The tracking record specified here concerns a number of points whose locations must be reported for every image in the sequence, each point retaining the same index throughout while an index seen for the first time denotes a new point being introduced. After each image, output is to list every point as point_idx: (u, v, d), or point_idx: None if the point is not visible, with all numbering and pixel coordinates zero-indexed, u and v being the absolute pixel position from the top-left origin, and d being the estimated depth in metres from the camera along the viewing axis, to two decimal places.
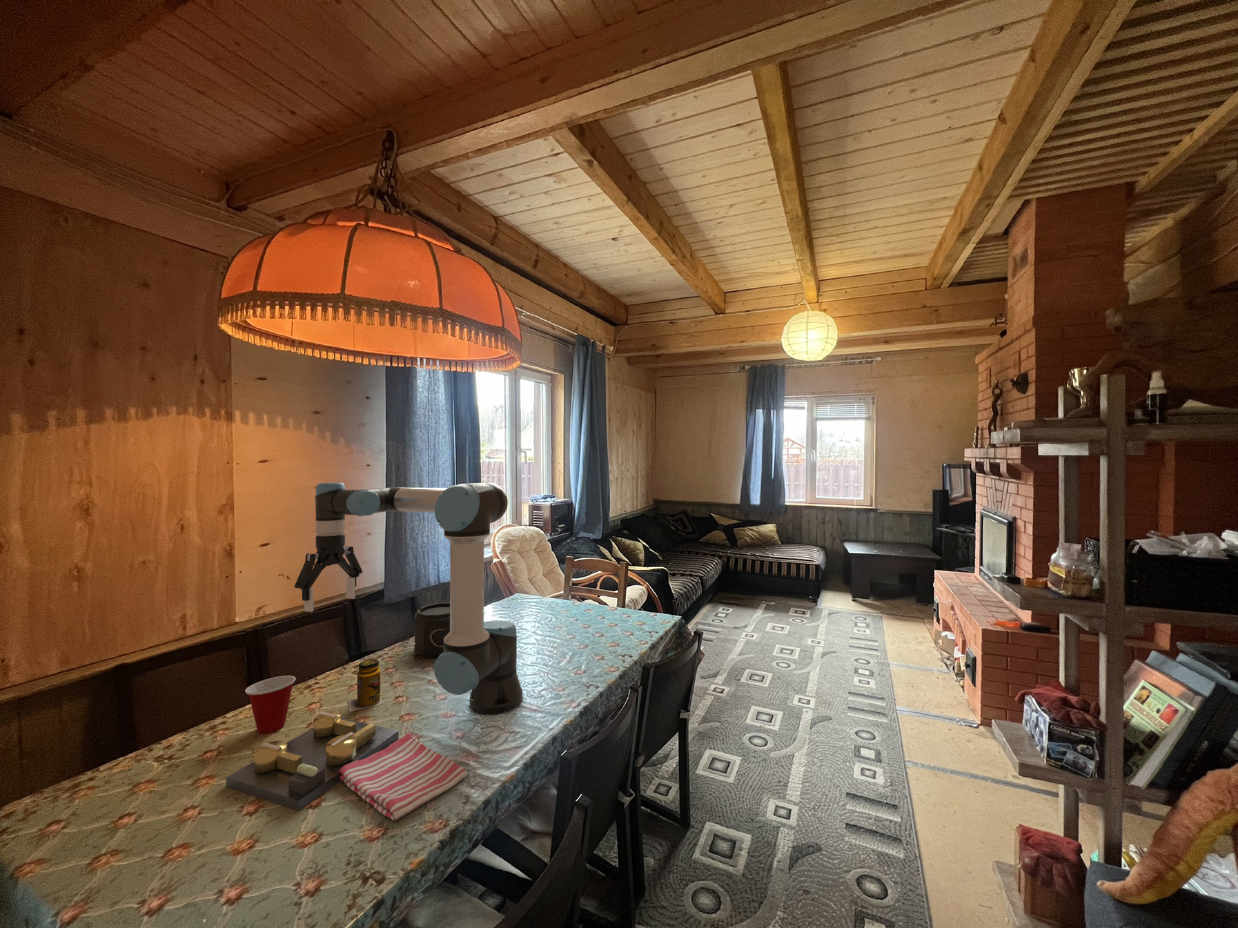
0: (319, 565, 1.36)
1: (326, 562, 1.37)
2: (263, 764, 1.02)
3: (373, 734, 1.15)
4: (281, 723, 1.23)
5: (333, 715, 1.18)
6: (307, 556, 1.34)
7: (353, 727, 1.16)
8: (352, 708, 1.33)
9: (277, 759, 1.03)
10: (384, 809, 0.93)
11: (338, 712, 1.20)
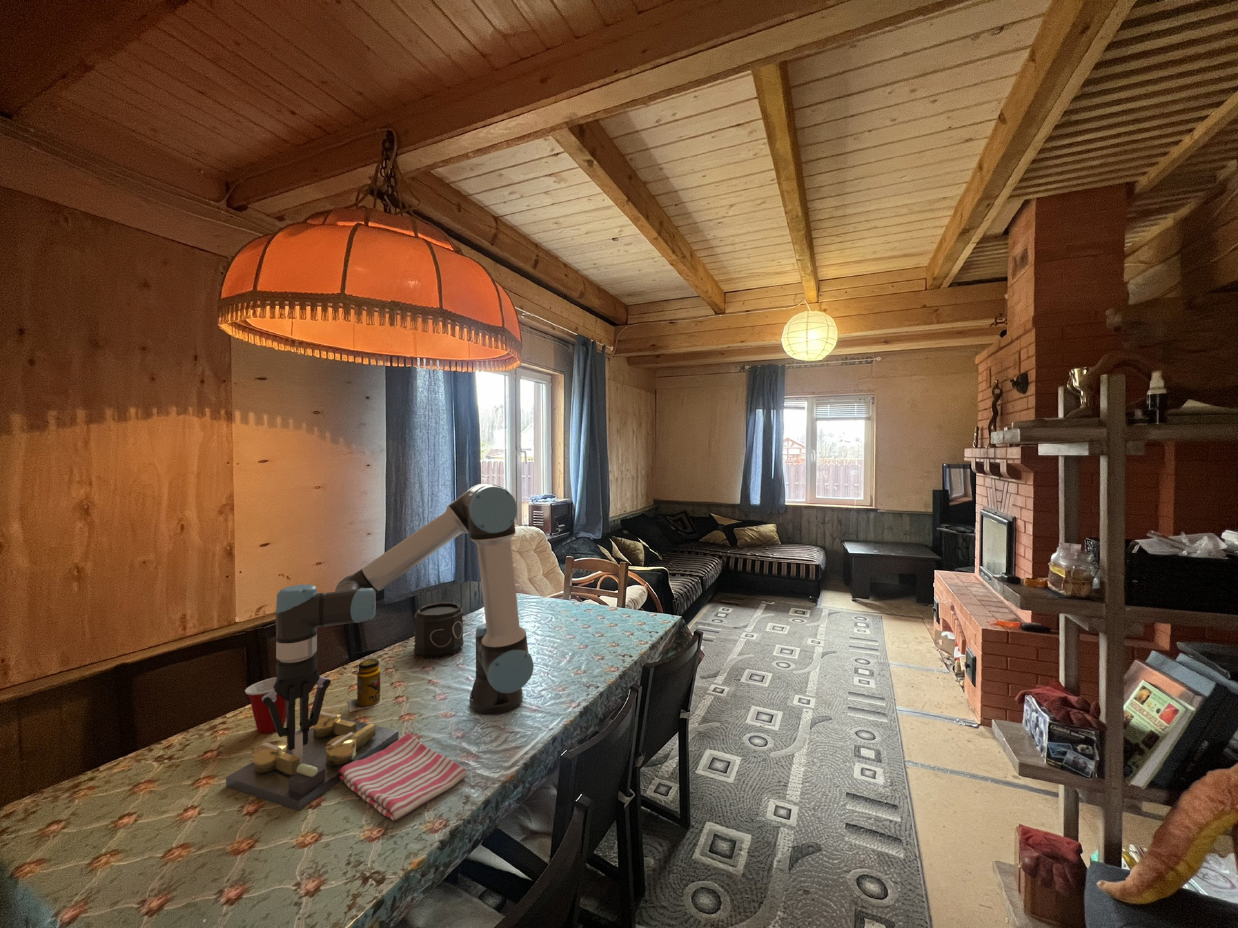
0: (287, 703, 1.03)
1: (291, 698, 1.02)
2: (262, 764, 1.02)
3: (373, 734, 1.15)
4: None
5: (333, 715, 1.18)
6: (263, 701, 1.00)
7: (353, 727, 1.16)
8: (352, 708, 1.33)
9: (276, 760, 1.03)
10: (384, 809, 0.93)
11: (338, 712, 1.20)
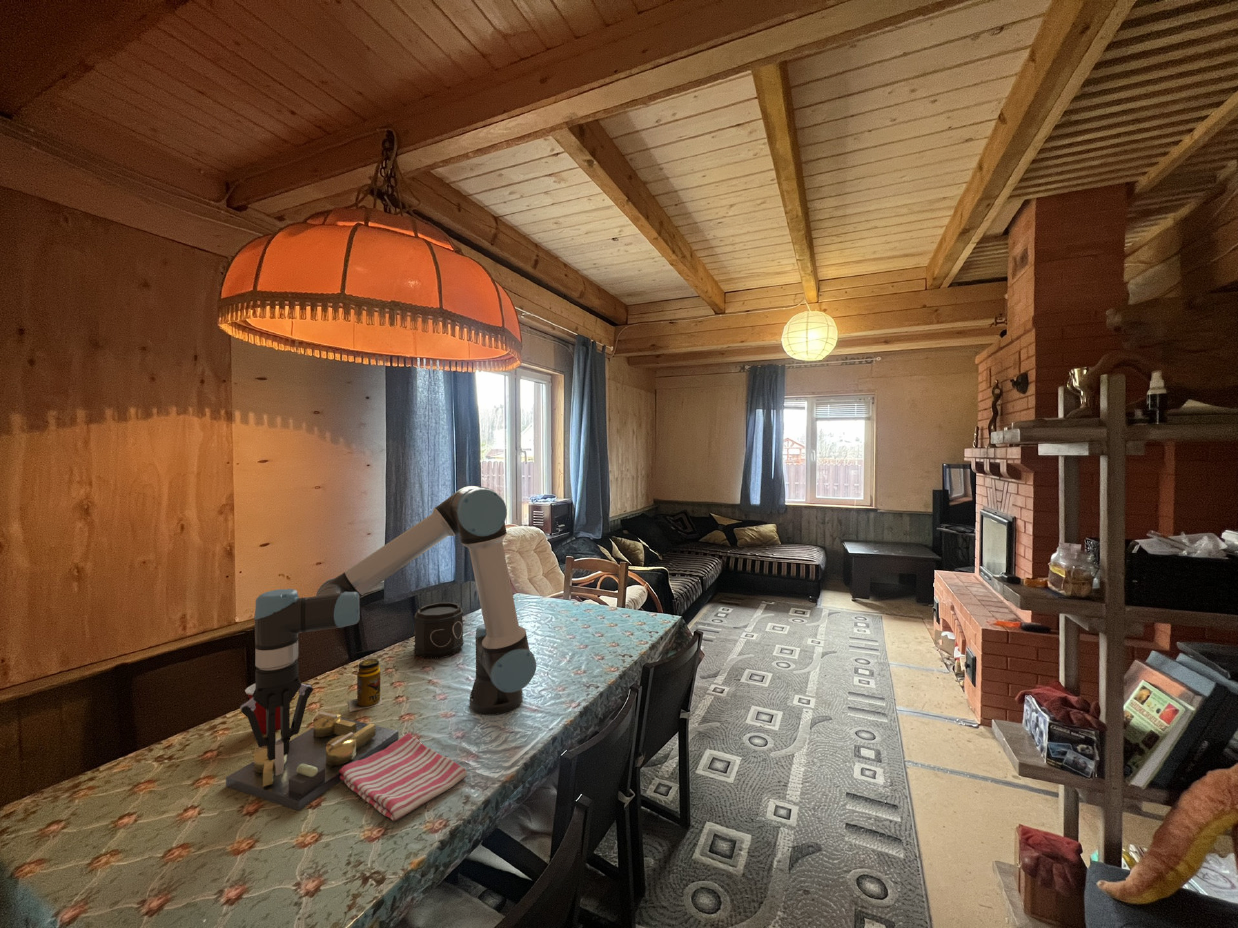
0: (267, 712, 0.99)
1: (271, 707, 0.99)
2: (255, 763, 1.03)
3: (373, 734, 1.15)
4: None
5: (333, 715, 1.18)
6: None
7: (353, 727, 1.16)
8: (352, 707, 1.33)
9: None
10: (384, 809, 0.93)
11: (338, 712, 1.20)
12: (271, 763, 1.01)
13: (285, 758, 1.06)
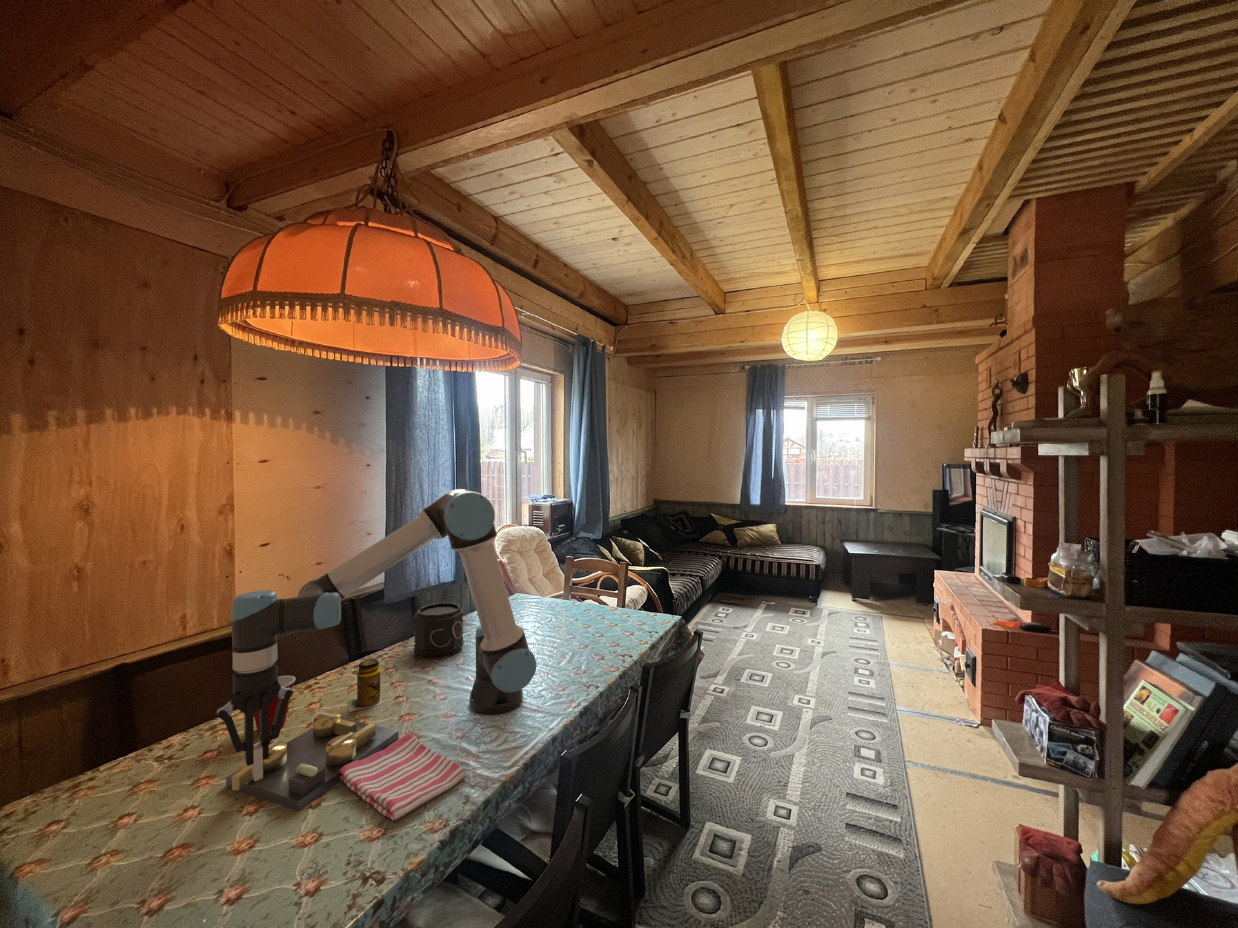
0: (245, 716, 0.97)
1: (249, 711, 0.97)
2: None
3: (373, 734, 1.15)
4: None
5: (333, 715, 1.18)
6: (218, 714, 0.95)
7: (353, 727, 1.16)
8: (352, 708, 1.33)
9: None
10: (384, 809, 0.93)
11: (338, 712, 1.20)
12: (250, 767, 0.99)
13: (278, 763, 1.04)
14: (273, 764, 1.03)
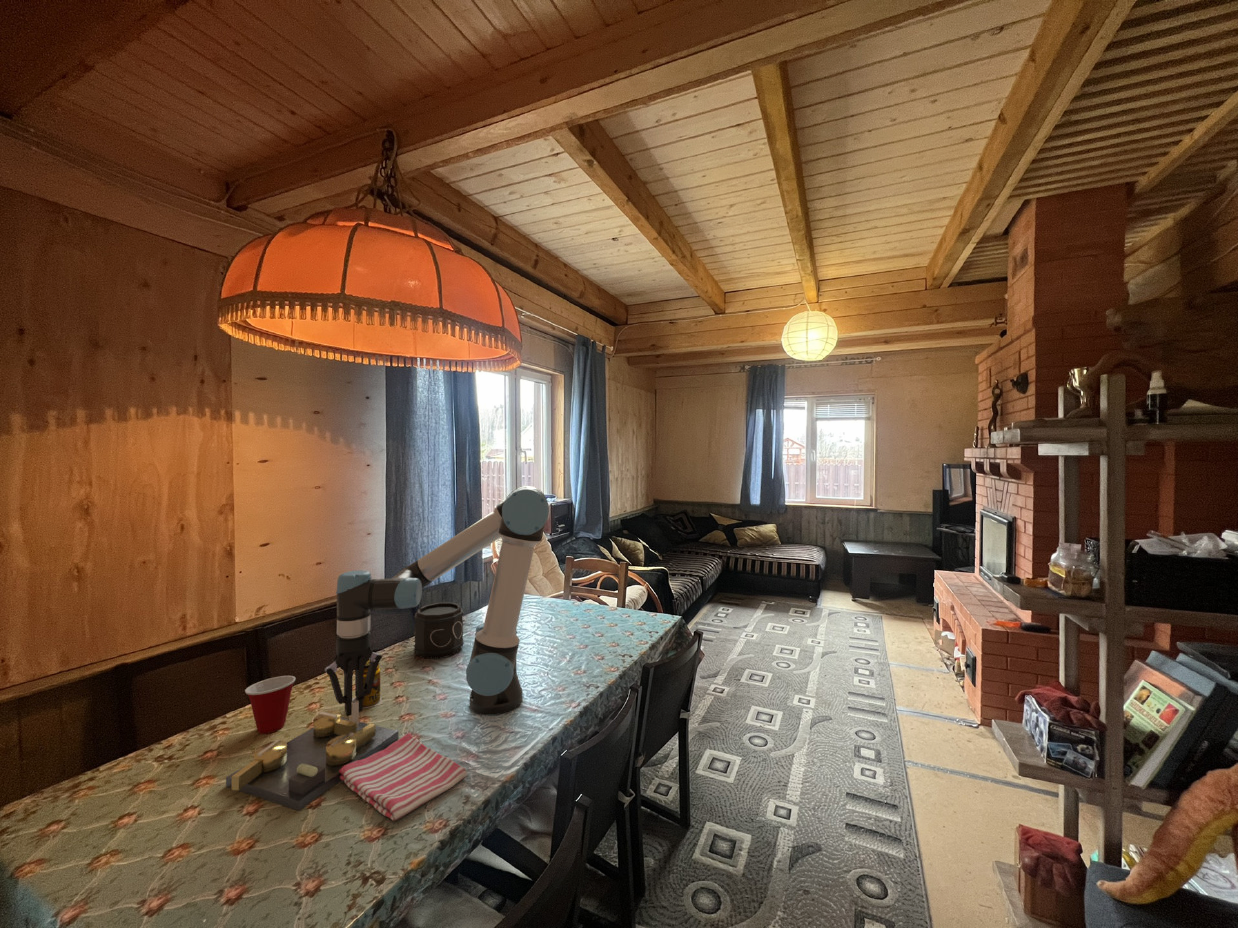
0: (346, 675, 1.17)
1: (350, 670, 1.16)
2: None
3: (373, 734, 1.15)
4: (281, 723, 1.23)
5: (333, 715, 1.18)
6: (325, 671, 1.14)
7: (353, 727, 1.16)
8: None
9: None
10: (384, 809, 0.93)
11: (338, 712, 1.20)
12: (250, 767, 0.99)
13: (278, 764, 1.04)
14: (272, 764, 1.03)
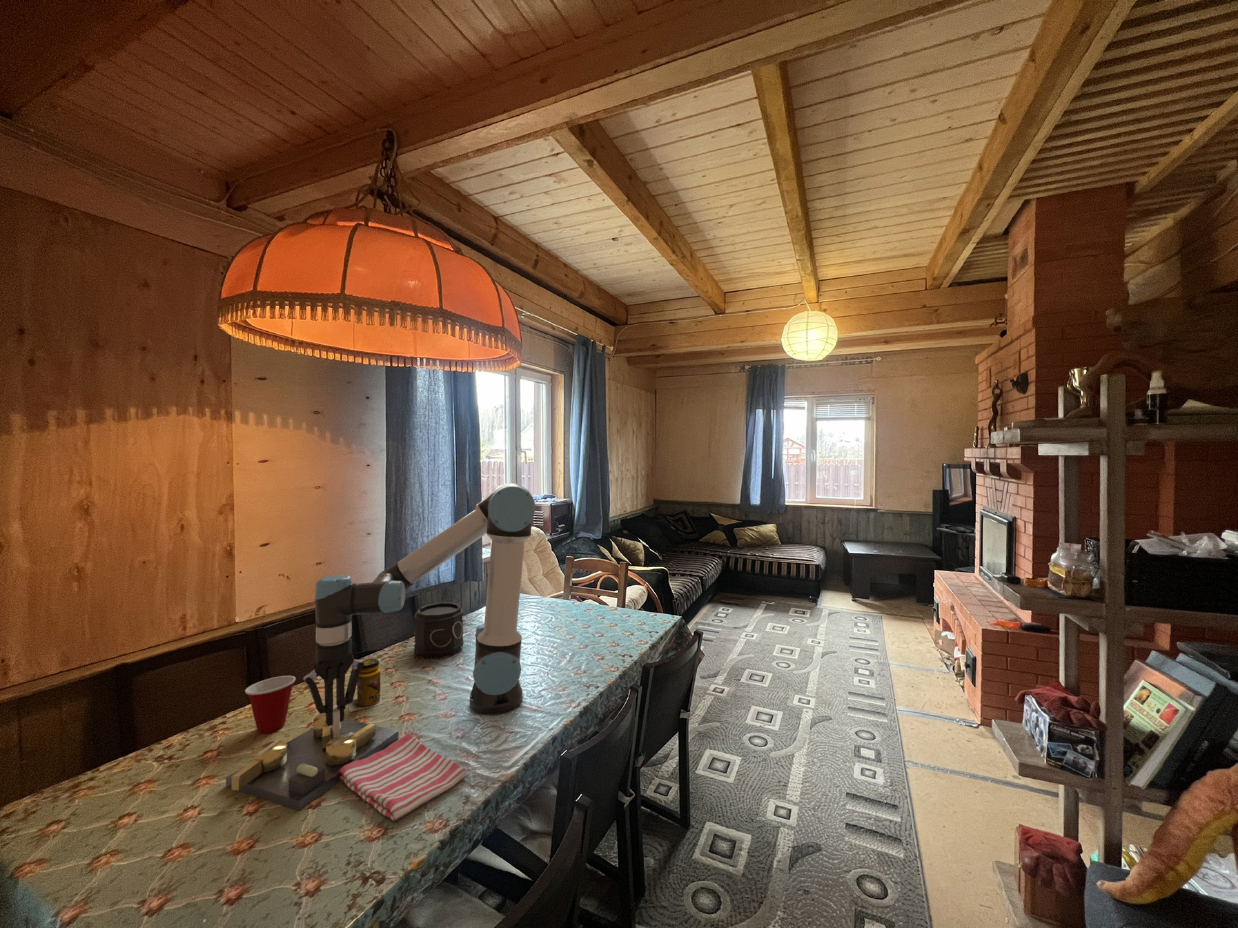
0: (326, 683, 1.12)
1: (330, 678, 1.12)
2: None
3: (373, 734, 1.15)
4: (281, 723, 1.23)
5: None
6: (304, 680, 1.10)
7: (325, 738, 1.11)
8: (352, 708, 1.33)
9: None
10: (384, 809, 0.93)
11: None
12: (250, 767, 0.99)
13: (278, 764, 1.04)
14: (272, 764, 1.03)
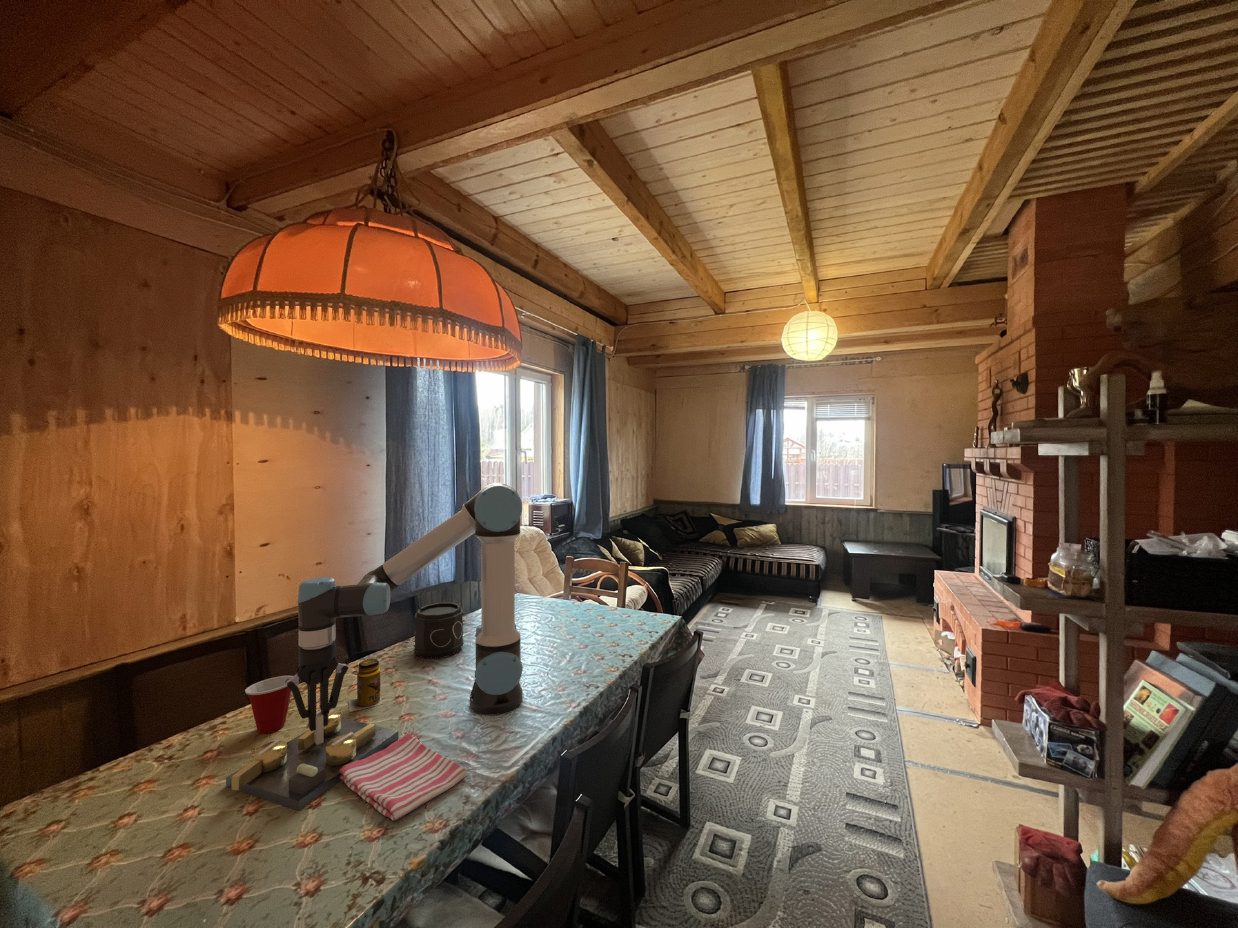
0: (309, 687, 1.10)
1: (313, 682, 1.10)
2: None
3: (373, 734, 1.15)
4: (281, 723, 1.23)
5: None
6: None
7: (300, 741, 1.10)
8: (352, 708, 1.33)
9: None
10: (384, 809, 0.93)
11: (333, 718, 1.17)
12: (250, 767, 0.99)
13: (278, 764, 1.04)
14: (272, 764, 1.03)
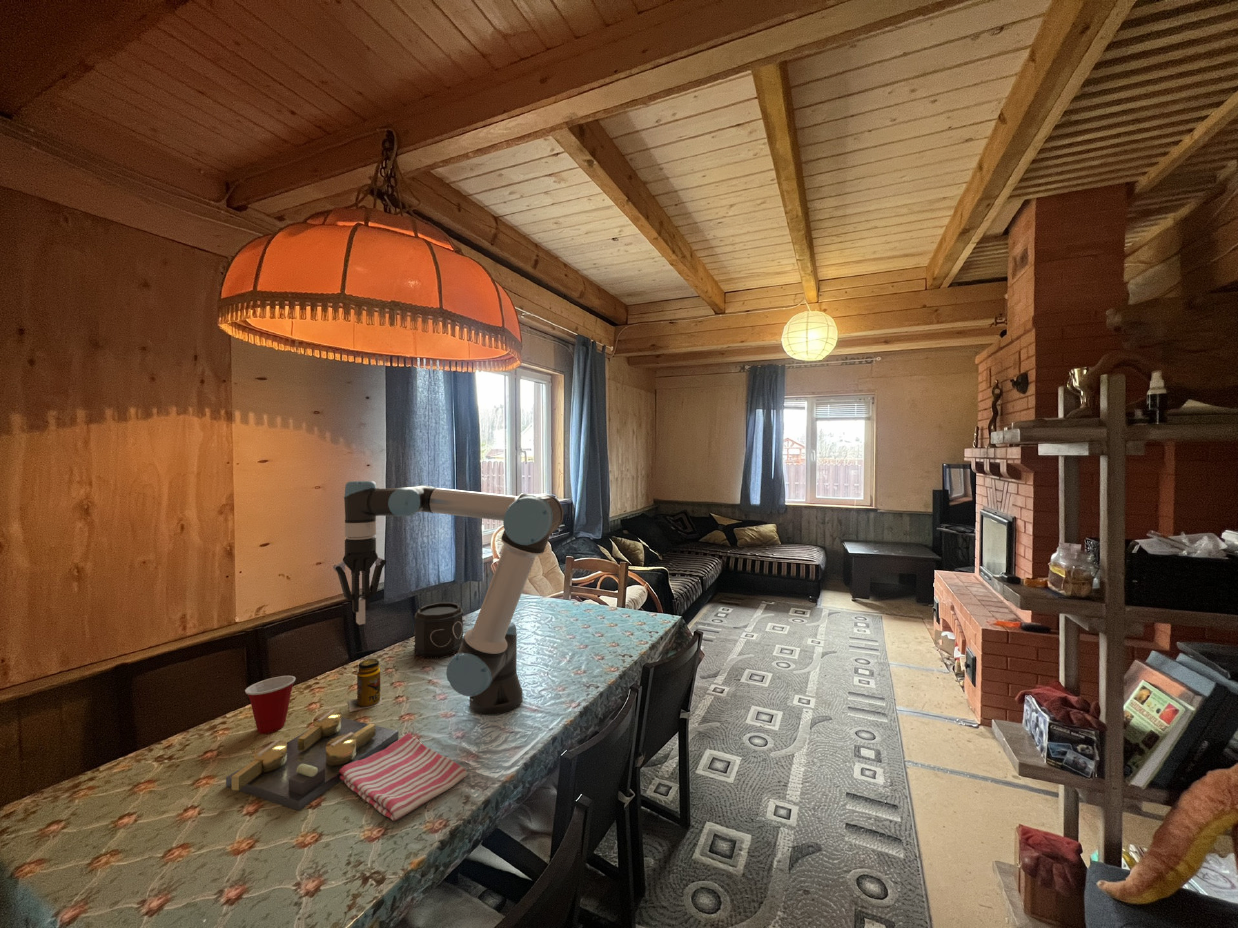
0: (353, 574, 1.26)
1: (357, 569, 1.26)
2: None
3: (373, 734, 1.15)
4: (281, 723, 1.23)
5: (321, 718, 1.16)
6: (334, 569, 1.24)
7: (300, 741, 1.10)
8: (352, 708, 1.33)
9: None
10: (384, 809, 0.93)
11: (333, 718, 1.17)
12: (250, 767, 0.99)
13: (278, 764, 1.04)
14: (272, 764, 1.03)
